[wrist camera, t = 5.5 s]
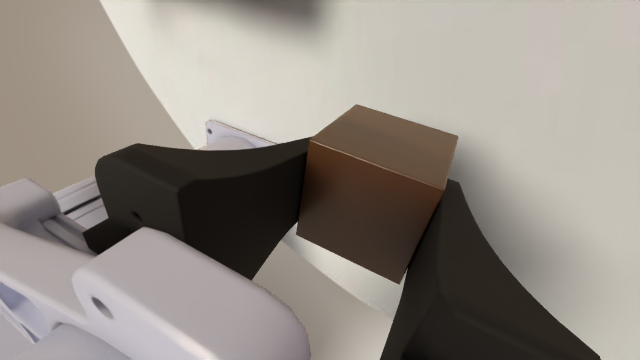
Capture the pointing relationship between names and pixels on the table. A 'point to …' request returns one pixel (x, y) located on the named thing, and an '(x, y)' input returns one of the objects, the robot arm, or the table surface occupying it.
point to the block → (373, 188)
